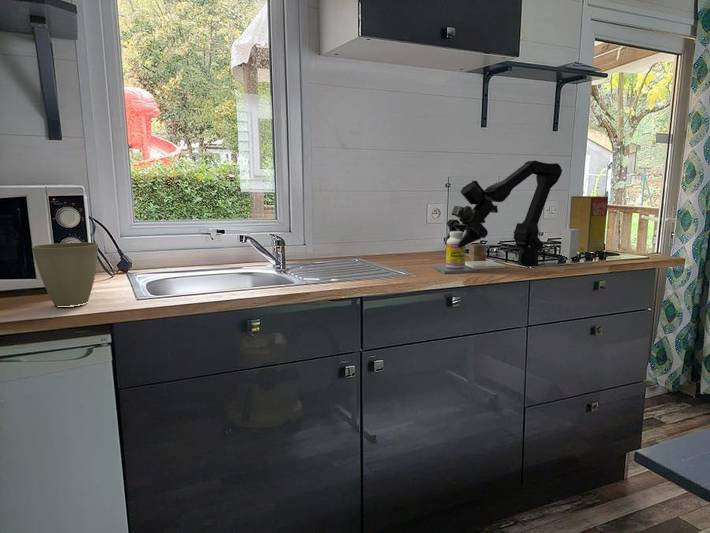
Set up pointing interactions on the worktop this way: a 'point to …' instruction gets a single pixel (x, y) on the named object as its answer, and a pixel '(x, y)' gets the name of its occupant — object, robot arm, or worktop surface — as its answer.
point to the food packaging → (589, 221)
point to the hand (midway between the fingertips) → (451, 245)
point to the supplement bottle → (455, 251)
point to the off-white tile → (484, 264)
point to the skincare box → (569, 243)
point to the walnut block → (477, 252)
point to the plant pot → (67, 270)
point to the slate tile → (451, 270)
